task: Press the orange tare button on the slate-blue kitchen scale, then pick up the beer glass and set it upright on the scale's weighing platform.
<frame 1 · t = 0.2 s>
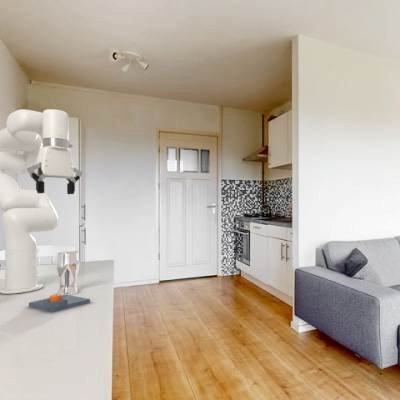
hand: (56, 193, 121), 36 cm above the table, tool pointing down, fingers open, 9 cm apart
tare button: (55, 298, 105), point 4 cm above the table, slide at 0.1 cm
scale: (59, 305, 110), on the table
beer glass: (68, 293, 126), on the table
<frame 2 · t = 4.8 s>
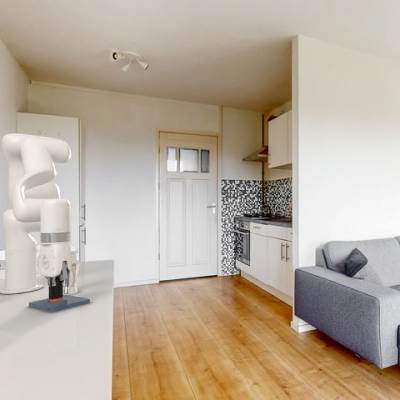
hand: (55, 298, 105), 4 cm above the table, tool pointing down, fingers closed
tare button: (55, 301, 105), point 3 cm above the table, slide at -0.7 cm, touching gripper
everything else where it was.
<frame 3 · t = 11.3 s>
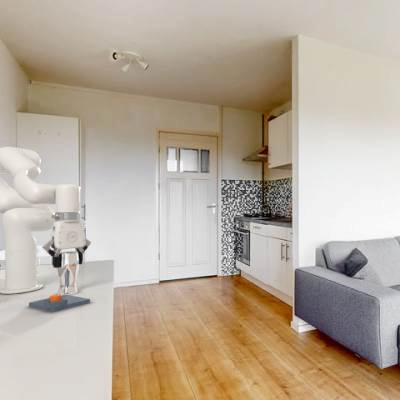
hand: (68, 265, 126), 10 cm above the table, tool pointing down, fingers closed on beer glass, 7 cm apart
tare button: (55, 298, 105), point 3 cm above the table, slide at 0.1 cm
beer glass: (68, 293, 126), on the table, touching gripper
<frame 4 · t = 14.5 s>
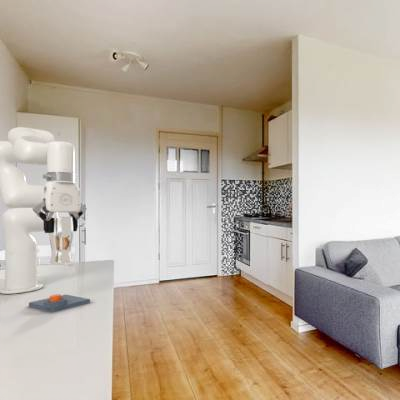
hand: (61, 231, 114), 23 cm above the table, tool pointing down, fingers closed on beer glass, 7 cm apart
beer glass: (61, 262, 114), point 13 cm above the table, touching gripper
everything else where it was.
when the fingers open (12 cm above the table, at t = 17.9 s): beer glass stays where it is, resting on scale.
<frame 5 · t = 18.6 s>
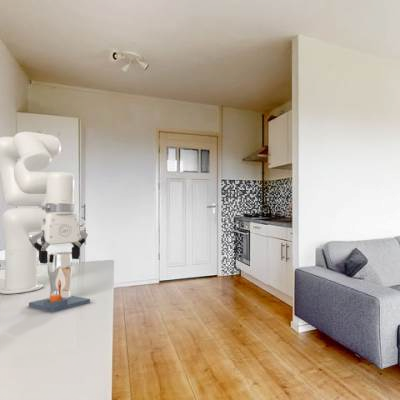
hand: (60, 260, 113), 14 cm above the table, tool pointing down, fingers open, 9 cm apart
beer glass: (60, 299, 113), point 1 cm above the table, touching scale
everything else where it was.
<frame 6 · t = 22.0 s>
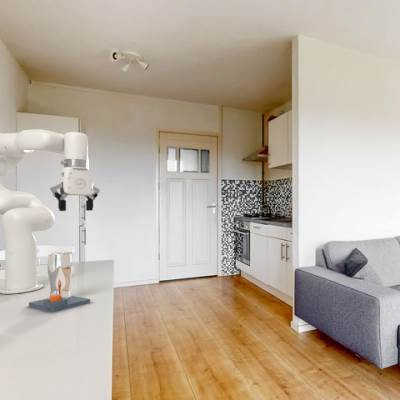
hand: (76, 210, 129), 30 cm above the table, tool pointing down, fingers open, 9 cm apart
nothing on the table moved.
at the end: tare button pushed in 0.9 cm at the most during the clip and back out by the end; beer glass 0.0 cm from the target spot on the scale, point 1.2 cm above the scale's base; beer glass touching scale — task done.
